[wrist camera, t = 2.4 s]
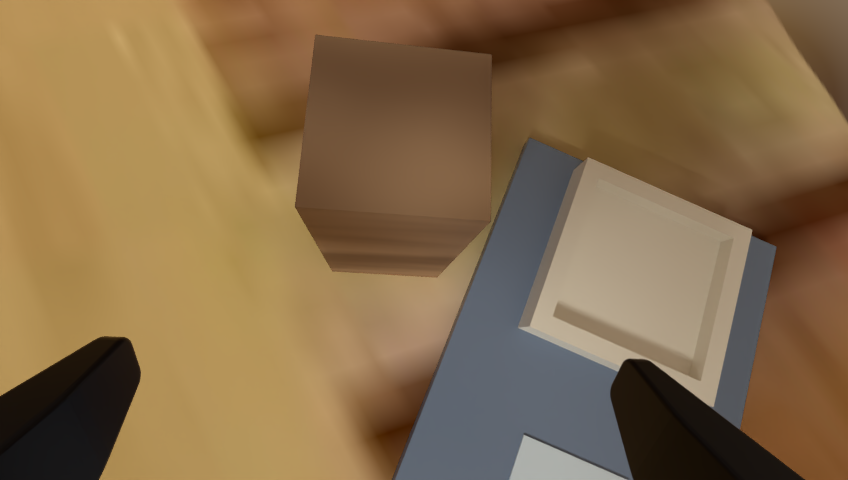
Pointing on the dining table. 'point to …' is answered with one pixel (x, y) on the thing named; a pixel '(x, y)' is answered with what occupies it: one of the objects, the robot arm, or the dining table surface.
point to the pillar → (395, 155)
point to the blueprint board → (585, 323)
